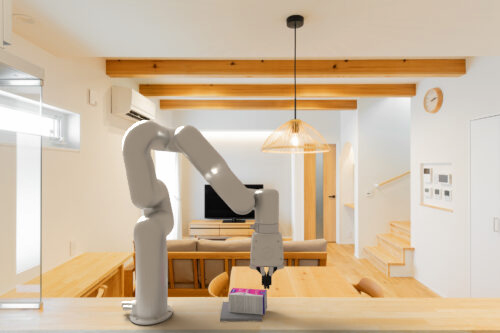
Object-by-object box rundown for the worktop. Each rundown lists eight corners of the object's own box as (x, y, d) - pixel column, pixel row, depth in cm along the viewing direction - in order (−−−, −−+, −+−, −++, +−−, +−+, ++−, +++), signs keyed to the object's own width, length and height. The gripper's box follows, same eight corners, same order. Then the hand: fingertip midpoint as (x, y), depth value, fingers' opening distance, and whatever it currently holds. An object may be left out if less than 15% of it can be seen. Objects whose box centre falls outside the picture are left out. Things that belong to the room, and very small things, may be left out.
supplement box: (264, 295, 94) (227, 294, 96) (265, 315, 94) (228, 313, 96) (266, 288, 100) (232, 287, 102) (267, 307, 100) (232, 305, 102)
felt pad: (220, 321, 92) (220, 318, 92) (222, 304, 104) (222, 301, 104) (262, 321, 92) (262, 318, 93) (259, 303, 104) (260, 301, 104)
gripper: (242, 230, 93) (242, 292, 93) (292, 230, 93) (292, 292, 93) (242, 226, 101) (242, 283, 100) (288, 226, 101) (288, 283, 101)
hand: (266, 287), depth 97 cm, fingers closed
